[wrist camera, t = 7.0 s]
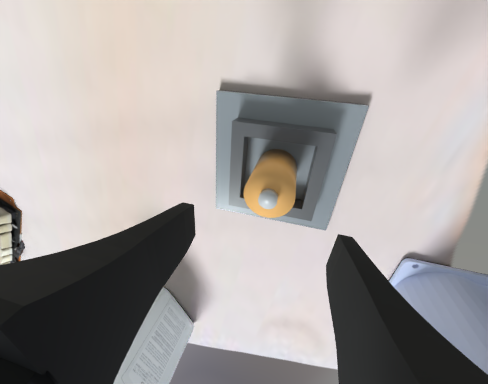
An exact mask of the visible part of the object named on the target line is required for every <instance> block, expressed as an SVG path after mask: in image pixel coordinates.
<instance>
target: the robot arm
mask: <svg viewBox="0 0 488 384" xmlns="http://www.w3.org/2000/svg"><path fill="white" fill-rule="evenodd" d="M194 237H195V218H194V205H193V204H188V203H181V204H179V205H176V206H174V207H172V208H170V209H168V210H166V211H164V212H162V213H160V214H158V215H156V216H154V217H152V218H150V219H148V220H146V221H144V222H142V223H140V224H137V225H135V226H133V227H131V228H129V229H126V230H124V231H122V232H119V233H117V234H114V235H111V236H109V237H106V238H103V239H100V240H98V241H95V242H91V243H88V244H85V245H82V246H78V247H75V248H72V249H69V250H65V251H61V252H57V253H54V254H50V255H45V256H41V257H37V258H33V259H28V260H24V261H19V262H13V263H8V264H3V265H0V384H113V383H114V381H115V378H116V376H117V374H118V372H119V370H120V368H121V365H122V363H123V361H124V359H125V357H126V355H127V353H128V351H129V349H130V347H131V345H132V343H133V341H134V339H135V337H136V335H137V333H138V331H139V329H140V327H141V325H142V323H143V321H144V320H145V318H146V316H147V314H148V312H149V310H150V308H151V307H152V305H153V303H154V301H155V299H156V298H157V296H158V294H159V293H160V291H161V289H162V288H163V286H164V285H165V283H166V282H167V281H168V279H169V278H170V276H171V275H172V273H173V272H174V270H175V269H176V267H177V266H178V264H179V263H180V261H181V260H182V258H183V257H184V255H185V254H186V252H187V251H188V249H189V247H190V245H191V243H192V241H193V239H194ZM414 264H416V265H414ZM326 276H327V290H328V296H329V303H330V309H331V315H332V321H333V327H334V333H335V340H336V348H337V362H338V377H339V384H488V275H486V274H482V273H477V272H472V271H467V270H462V269H458V268H453V267H448V266H444V265H439V264H434V263H429V262H425V261H420V260H415V259H410V258H407V259H404V260H403V261H402V262H401V263H400V265H399V267H398V268H397V270H396V271H395V273H394V274H393V276H392V278H391V279H390V281H388V280H387V279H386V278H385V276H384V275H383V274H382V273H381V272H380V271H379V269H378V268H377V267H376V266H375V265H374V263H373V262H372V261H371V260H370V258H369V257H368V256H367V255H366V253H365V252H364V251H363V250H362V248H361V247H360V246H359V245H358V243H357V242H356V241H355V240H354V239H353V237H349V236H344V235H339V234H338V236H337V239H336V241H335V244H334V247H333V249H332V252H331V254H330V257H329V259H328V262H327V265H326Z"/></svg>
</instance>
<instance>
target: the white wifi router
mask: <svg viewBox="0 0 488 384" xmlns="http://www.w3.org/2000/svg"><path fill="white" fill-rule="evenodd" d="M193 328H194V324H193V323H192V321H191V319H190V318H189V317H188V315H187V314H186V313H185V312H184V310H183V309H182V308H181V306H180V305H179V304H178V302H177V301H176V300H175V298H174V297H173V296H172V295H171V294H170V292H169V291H168V290H167V289H165V288H164V287H163V288H162V289H161V291H160V293H159V294H158V296H157V298H156V299H155V301H154V303H153V305H152V307H151V308H150V310H149V312H148V314H147V316H146V318H145V320H144V321H143V323H142V325H141V327H140V329H139V331H138V333H137V335H136V337H135V339H134V341H133V343H132V345H131V347H130V349H129V351H128V353H127V355H126V357H125V359H124V361H123V363H122V365H121V368H120V370H119V372H118V374H117V376H116V378H115V381H114V383H113V384H169V383H170V381H171V378H172V376H173V374H174V371H175V369H176V367H177V365H178V363H179V360H180V358H181V356H182V354H183V351H184V349H185V347H186V344H187V342H188V340H189V338H190V336H191V333H192V331H193Z"/></svg>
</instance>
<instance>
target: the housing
mask: <svg viewBox="0 0 488 384" xmlns="http://www.w3.org/2000/svg"><path fill="white" fill-rule="evenodd" d="M368 107H369V106H368V105H363V104H353V103H343V102H333V101H323V100H312V99H302V98H292V97H282V96H272V95H262V94H252V93H242V92H232V91H221V90H218V91H217V104H216V208H217V209H222V210H227V211H232V212H237V213H242V214H247V215H252V216H257V217H262V216H260V215H258V214H256V213H254V212H253V211H252V210H251V209H250V208H249V207H248V206H247V204H246V202H245V199H244V188H245V185H246V183H247V181H248V179H249V178H250V176H251V174H252V172H253V170H254V168H255V166H256V164H257V162H258V160H259V158H260V157H261V156H262V154H264V153H265V152H266V151H269V150H272V149H282V150H285V151H287V152H288V153H290V154H291V155H292V156H293V157H294V159H295V161H296V164H297V176H296V196H295V203H294V205H293V207H292V209H291V210H290V211H289V212H288V213H286V214H285V215H283V216H280V217H276V218H267V217H262V218H267V219H272V220H277V221H282V222H287V223H292V224H297V225H302V226H306V227H311V228H316V229H321V230H326V229H327V226H328V223H329V220H330V217H331V214H332V211H333V208H334V205H335V203H336V200H337V197H338V194H339V191H340V188H341V185H342V182H343V179H344V176H345V173H346V171H347V168H348V165H349V162H350V159H351V156H352V153H353V150H354V147H355V144H356V142H357V139H358V136H359V133H360V130H361V127H362V124H363V121H364V118H365V115H366V112H367V110H368Z"/></svg>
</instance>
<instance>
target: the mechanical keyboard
mask: <svg viewBox="0 0 488 384" xmlns="http://www.w3.org/2000/svg"><path fill="white" fill-rule="evenodd" d="M10 200H11V202H10ZM21 225H22V211H21V210H20V209H18V208H17V207H16V206H15V204H14V199H13V198H12V197H10V196H9V195H7V194H6V193H4V192H2V191H1V190H0V265H3V264H8V263H13V262H19V261H20V257H21V254H22V252H23V249H25V247H24V243H23V241H22V233H21Z"/></svg>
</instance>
